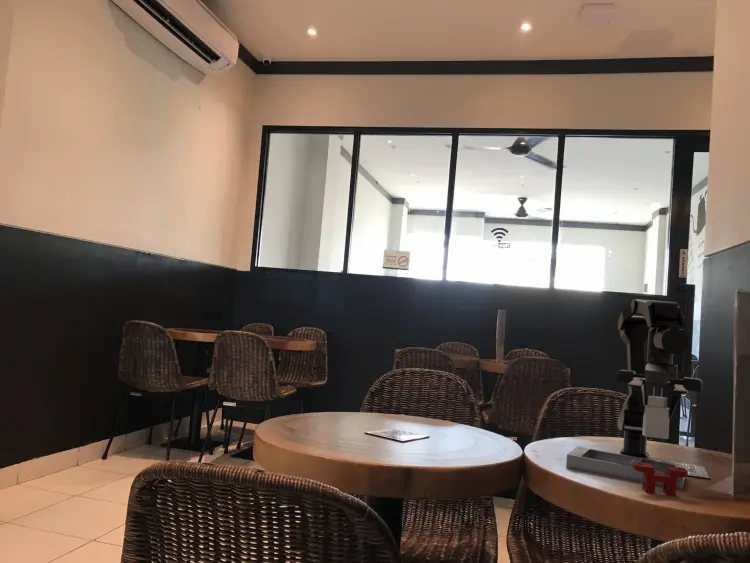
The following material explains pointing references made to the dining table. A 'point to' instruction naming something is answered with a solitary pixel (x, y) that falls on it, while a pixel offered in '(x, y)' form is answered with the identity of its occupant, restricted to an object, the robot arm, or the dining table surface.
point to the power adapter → (656, 417)
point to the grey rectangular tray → (614, 464)
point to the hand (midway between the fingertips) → (656, 415)
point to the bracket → (660, 477)
